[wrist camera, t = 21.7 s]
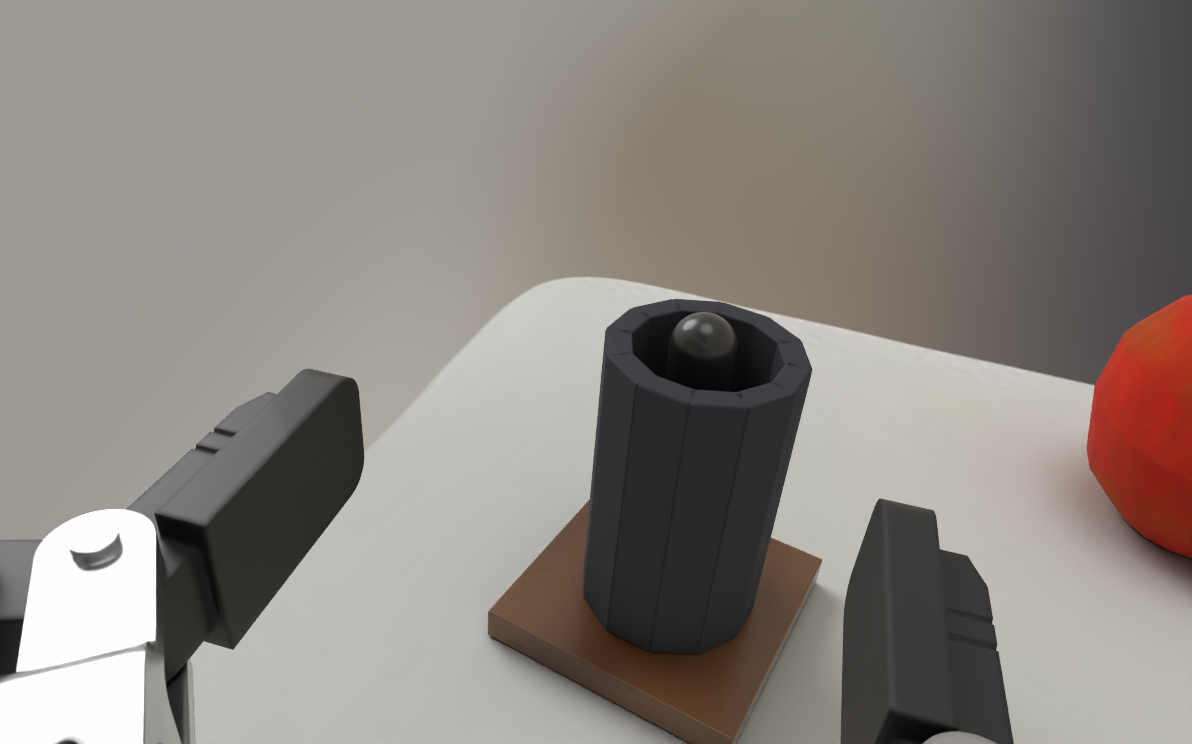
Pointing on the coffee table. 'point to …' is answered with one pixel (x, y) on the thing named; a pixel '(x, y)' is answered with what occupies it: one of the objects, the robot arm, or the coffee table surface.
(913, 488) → the coffee table surface
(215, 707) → the coffee table surface
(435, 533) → the coffee table surface
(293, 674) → the coffee table surface
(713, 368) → the stand
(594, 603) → the sleeve
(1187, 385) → the apple
